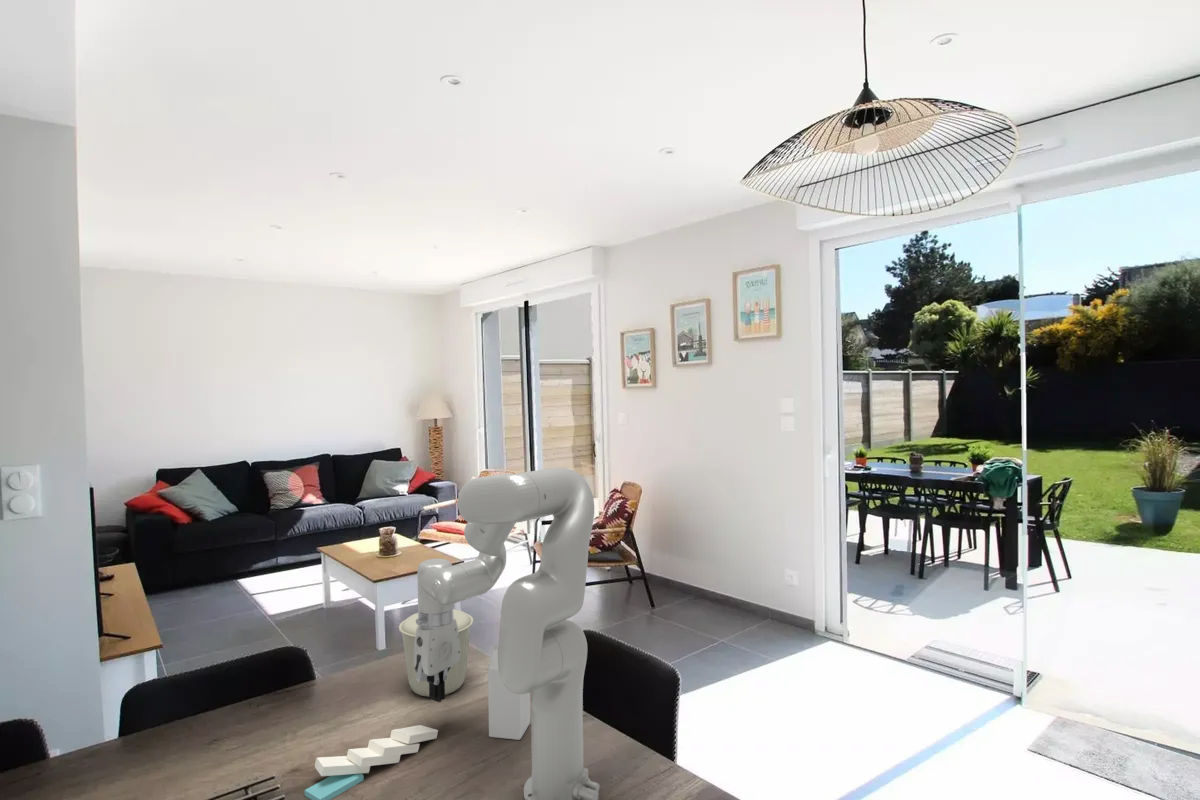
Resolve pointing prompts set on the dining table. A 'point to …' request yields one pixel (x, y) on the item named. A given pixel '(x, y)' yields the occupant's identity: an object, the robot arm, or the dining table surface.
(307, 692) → the dining table surface
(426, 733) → the domino
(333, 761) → the domino
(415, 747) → the domino
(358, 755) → the domino
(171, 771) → the dining table surface
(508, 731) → the milk carton
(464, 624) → the canister
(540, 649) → the robot arm
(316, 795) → the domino
